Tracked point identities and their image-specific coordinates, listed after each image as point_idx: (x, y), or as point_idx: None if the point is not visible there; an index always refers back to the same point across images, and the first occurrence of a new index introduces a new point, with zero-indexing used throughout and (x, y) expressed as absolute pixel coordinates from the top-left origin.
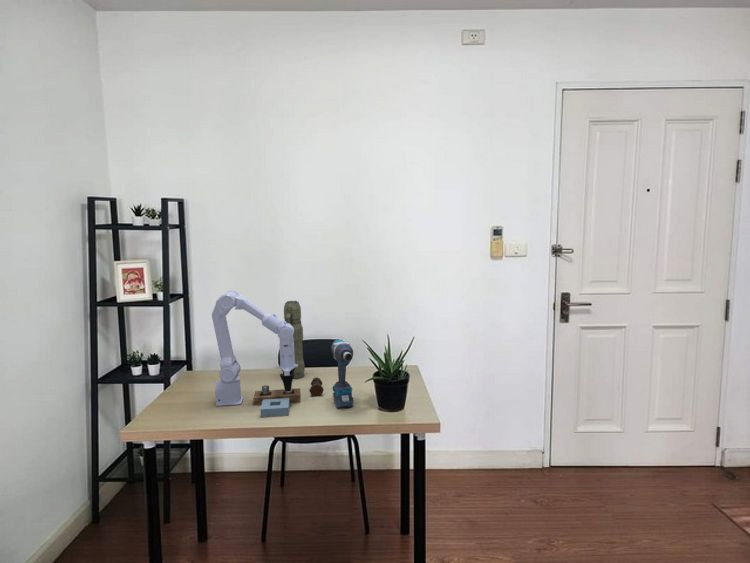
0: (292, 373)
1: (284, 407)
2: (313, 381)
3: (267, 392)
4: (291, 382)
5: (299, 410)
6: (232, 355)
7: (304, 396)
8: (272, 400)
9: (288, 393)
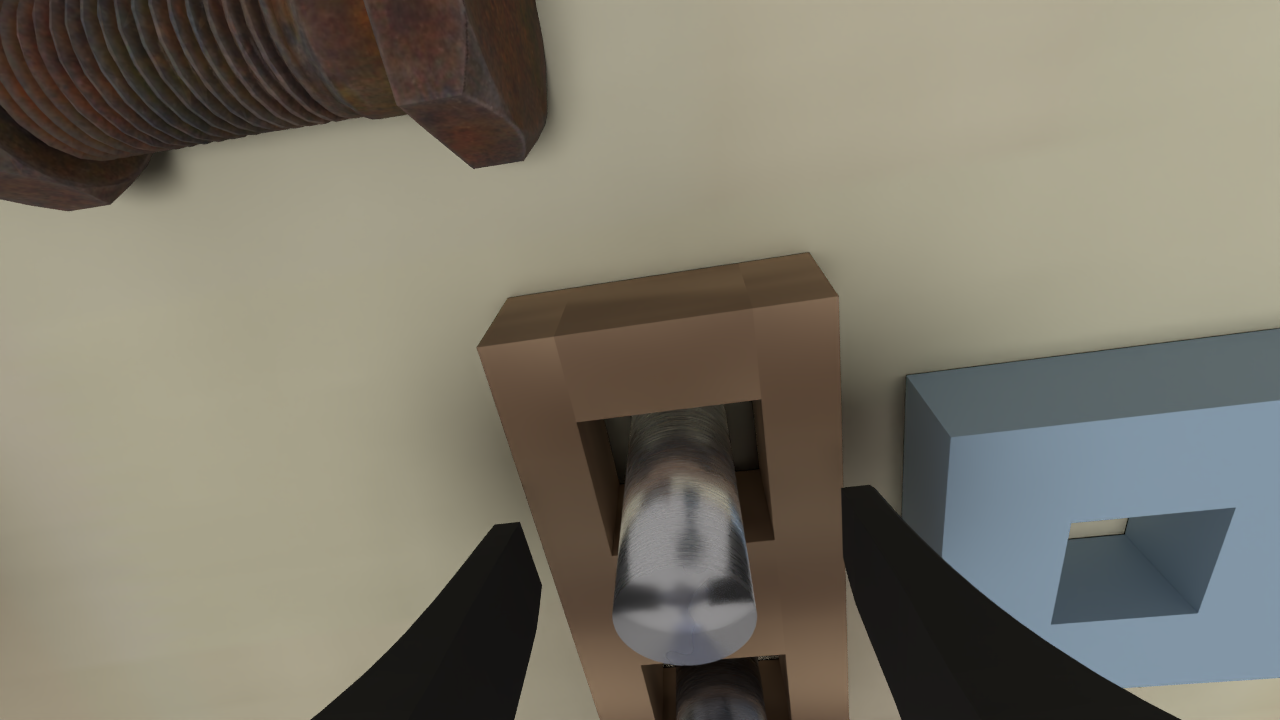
0: (430, 705)
1: None
2: (41, 155)
3: (756, 713)
4: (1001, 612)
5: (1160, 201)
6: None
7: (546, 229)
8: None
9: (734, 478)
